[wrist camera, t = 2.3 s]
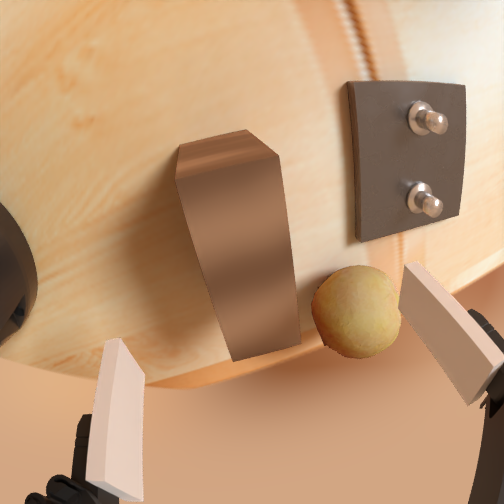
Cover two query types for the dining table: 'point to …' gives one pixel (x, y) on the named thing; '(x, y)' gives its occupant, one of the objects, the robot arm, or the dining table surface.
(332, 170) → the dining table surface
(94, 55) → the dining table surface
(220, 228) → the door
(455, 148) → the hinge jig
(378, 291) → the fruit
